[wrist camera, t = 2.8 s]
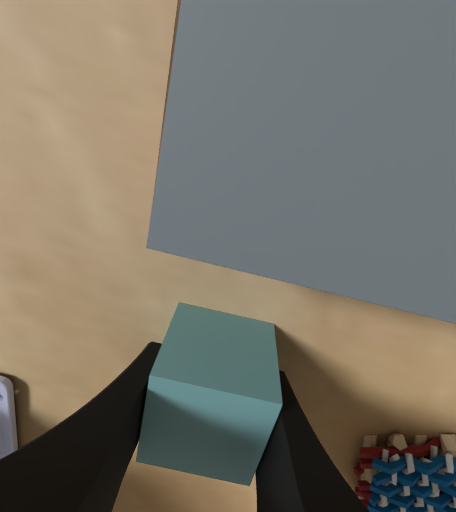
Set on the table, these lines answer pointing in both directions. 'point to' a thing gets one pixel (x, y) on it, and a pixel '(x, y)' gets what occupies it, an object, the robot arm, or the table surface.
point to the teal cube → (211, 396)
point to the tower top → (315, 146)
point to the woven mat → (408, 474)
